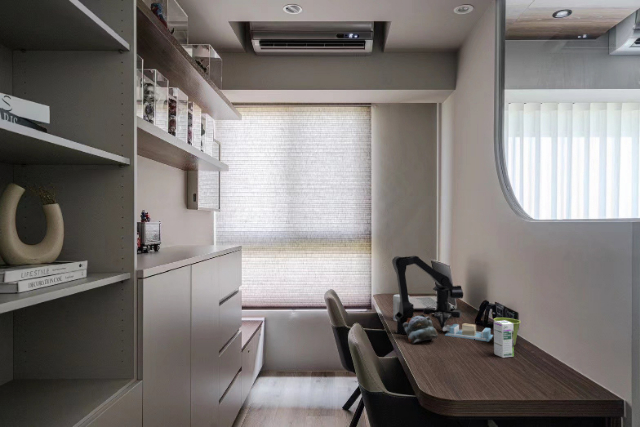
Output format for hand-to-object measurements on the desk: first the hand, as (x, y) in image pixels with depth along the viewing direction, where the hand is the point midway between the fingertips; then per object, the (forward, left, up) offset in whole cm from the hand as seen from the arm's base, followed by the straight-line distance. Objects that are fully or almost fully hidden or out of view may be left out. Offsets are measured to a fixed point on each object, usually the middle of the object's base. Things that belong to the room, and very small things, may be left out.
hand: (442, 328), depth 220 cm
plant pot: (-6, -32, -2) cm, 32 cm away
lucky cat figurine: (-23, +5, -2) cm, 23 cm away
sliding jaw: (0, -4, -1) cm, 4 cm away
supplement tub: (+13, +27, -2) cm, 30 cm away
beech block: (0, -13, -1) cm, 13 cm away
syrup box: (-25, -33, -2) cm, 41 cm away
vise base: (0, -13, -2) cm, 13 cm away
